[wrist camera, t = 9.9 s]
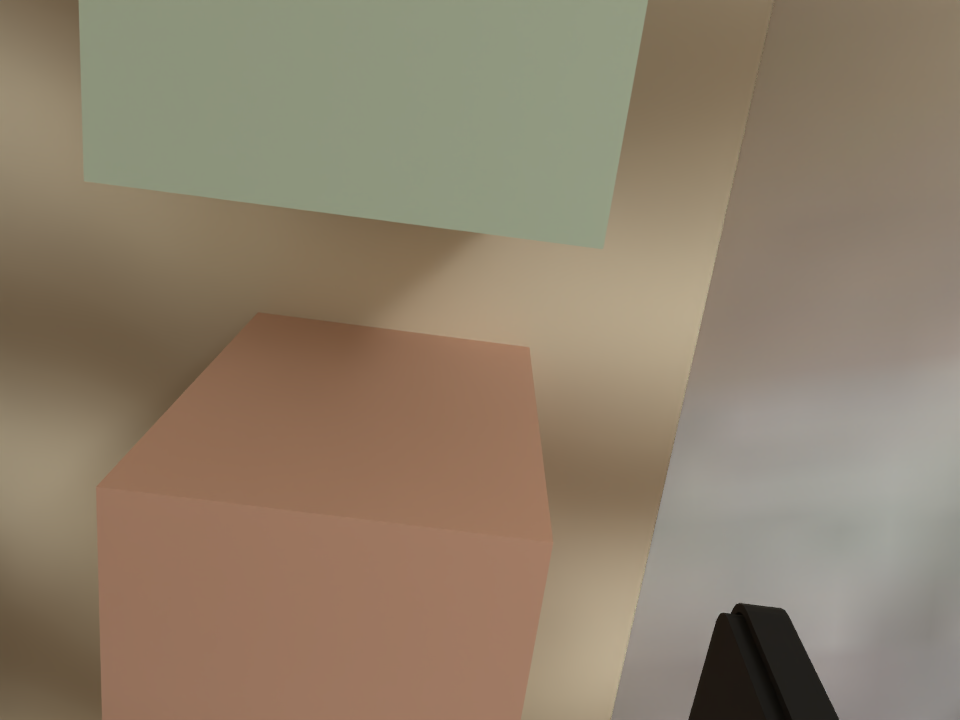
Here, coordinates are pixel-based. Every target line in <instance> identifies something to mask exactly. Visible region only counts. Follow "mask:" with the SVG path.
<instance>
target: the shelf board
mask: <svg viewBox="0 0 960 720" xmlns="http://www.w3.org/2000/svg"><path fill="white" fill-rule="evenodd" d="M773 5H774V0H648V4H647V9H646V15H645V21H644V26H643V32H642V37H641V43H640V48H639V54H638V59H637V65H636V70H635V76H634V81H633V87H632V92H631V98H630V103H629V109H628V114H627V120H626V126H625V131H624V137H623V142H622V148H621V153H620V159H619V164H618V170H617V175H616V181H615V186H614V192H613V197H612V203H611V208H610V214H609V219H608V225H607V230H606V236H605V242H604V247H603V249H597V248H589V247H582V246H574V245H567V244H559V243H551V242H544V241H536V240H528V239H521V238H513V237H506V236H498V235H490V234H483V233H475V232H467V231H460V230H452V229H445V228H437V227H429V226H422V225H414V224H406V223H399V222H391V221H384V220H376V219H368V218H361V217H353V216H345V215H338V214H330V213H323V212H315V211H307V210H300V209H292V208H284V207H277V206H269V205H262V204H254V203H246V202H239V201H231V200H223V199H216V198H208V197H201V196H193V195H185V194H178V193H170V192H163V191H155V190H147V189H140V188H132V187H124V186H117V185H109V184H102V183H94V182H86V181H84V170H83V135H82V100H81V66H80V31H79V0H0V720H102V699H101V661H100V623H99V584H98V546H97V508H96V486H97V485H98V484H99V483H100V482H101V481H102V480H103V479H104V478H105V476H106V475H107V474H108V473H109V472H110V471H111V470H112V469H113V468H114V467H115V466H116V465H117V464H118V462H119V461H120V460H121V459H122V458H123V457H124V456H125V455H126V454H127V453H128V452H129V451H130V450H131V448H132V447H133V446H134V445H135V444H136V443H137V442H138V441H139V440H140V439H141V438H142V437H143V436H144V434H145V433H146V432H147V431H148V430H149V429H150V428H151V427H152V426H153V425H154V424H155V423H156V422H157V420H158V419H159V418H160V417H161V416H162V415H163V414H164V413H165V412H166V411H167V410H168V409H169V408H170V406H171V405H172V404H173V403H174V402H175V401H176V400H177V399H178V398H179V397H180V396H181V395H182V394H183V392H184V391H185V390H186V389H187V388H188V387H189V386H190V385H191V384H192V383H193V382H194V381H195V380H196V378H197V377H198V376H199V375H200V374H201V373H202V372H203V371H204V370H205V369H206V368H207V367H208V366H209V364H210V363H211V362H212V361H213V360H214V359H215V358H216V357H217V356H218V355H219V354H220V353H221V352H222V350H223V349H224V348H225V347H226V346H227V345H228V344H229V343H230V342H231V341H232V340H233V339H234V338H235V336H236V335H237V334H238V333H239V332H240V331H241V330H242V329H243V328H244V327H245V326H246V325H247V324H248V322H249V321H250V320H251V319H252V318H253V317H254V316H255V315H256V314H257V313H258V312H260V313H267V314H275V315H283V316H291V317H299V318H306V319H314V320H322V321H330V322H337V323H345V324H353V325H361V326H369V327H376V328H384V329H392V330H400V331H407V332H415V333H423V334H431V335H438V336H446V337H454V338H462V339H470V340H477V341H485V342H493V343H501V344H508V345H516V346H524V347H529V348H530V357H531V365H532V373H533V381H534V389H535V397H536V406H537V414H538V422H539V430H540V438H541V446H542V454H543V463H544V471H545V479H546V487H547V495H548V503H549V511H550V520H551V528H552V536H553V547H552V552H551V558H550V563H549V569H548V574H547V580H546V585H545V590H544V596H543V601H542V607H541V612H540V618H539V623H538V629H537V634H536V639H535V645H534V650H533V656H532V661H531V667H530V672H529V677H528V683H527V688H526V694H525V699H524V705H523V710H522V716H521V720H611V717H612V712H613V708H614V703H615V699H616V695H617V690H618V686H619V681H620V677H621V673H622V668H623V664H624V659H625V655H626V651H627V646H628V642H629V637H630V633H631V629H632V624H633V620H634V615H635V611H636V607H637V602H638V598H639V594H640V589H641V585H642V580H643V576H644V572H645V567H646V563H647V558H648V554H649V550H650V545H651V541H652V536H653V532H654V528H655V523H656V519H657V514H658V510H659V506H660V501H661V497H662V492H663V488H664V484H665V479H666V475H667V470H668V466H669V462H670V457H671V453H672V448H673V444H674V440H675V435H676V431H677V426H678V422H679V418H680V413H681V409H682V405H683V400H684V396H685V391H686V387H687V383H688V378H689V374H690V369H691V365H692V361H693V356H694V352H695V347H696V343H697V339H698V334H699V330H700V325H701V321H702V317H703V312H704V308H705V303H706V299H707V295H708V290H709V286H710V281H711V277H712V273H713V268H714V264H715V259H716V255H717V251H718V246H719V242H720V238H721V233H722V229H723V224H724V220H725V216H726V211H727V207H728V202H729V198H730V194H731V189H732V185H733V180H734V176H735V172H736V167H737V163H738V158H739V154H740V150H741V145H742V141H743V136H744V132H745V128H746V123H747V119H748V114H749V110H750V106H751V101H752V97H753V92H754V88H755V84H756V79H757V75H758V70H759V66H760V62H761V57H762V53H763V49H764V44H765V40H766V35H767V31H768V27H769V22H770V18H771V13H772V9H773Z"/></svg>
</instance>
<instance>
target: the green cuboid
mask: <svg viewBox="0 0 960 720" xmlns="http://www.w3.org/2000/svg"><path fill="white" fill-rule="evenodd" d="M647 4H648V0H79V31H80V66H81V100H82V135H83V170H84V181H86V182H94V183H102V184H109V185H117V186H124V187H132V188H140V189H147V190H155V191H163V192H170V193H178V194H185V195H193V196H201V197H208V198H216V199H223V200H231V201H239V202H246V203H254V204H262V205H269V206H277V207H284V208H292V209H300V210H307V211H315V212H323V213H330V214H338V215H345V216H353V217H361V218H368V219H376V220H384V221H391V222H399V223H406V224H414V225H422V226H429V227H437V228H445V229H452V230H460V231H467V232H475V233H483V234H490V235H498V236H506V237H513V238H521V239H528V240H536V241H544V242H551V243H559V244H567V245H574V246H582V247H589V248H597V249H603V247H604V242H605V236H606V230H607V225H608V219H609V214H610V208H611V203H612V197H613V192H614V186H615V181H616V175H617V170H618V164H619V159H620V153H621V148H622V142H623V137H624V131H625V126H626V120H627V114H628V109H629V103H630V98H631V92H632V87H633V81H634V76H635V70H636V65H637V59H638V54H639V48H640V43H641V37H642V32H643V26H644V21H645V15H646V9H647Z"/></svg>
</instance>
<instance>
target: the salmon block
mask: <svg viewBox="0 0 960 720" xmlns="http://www.w3.org/2000/svg"><path fill="white" fill-rule="evenodd" d="M96 508H97V546H98V584H99V623H100V661H101V699H102V720H521V716H522V710H523V705H524V699H525V694H526V688H527V683H528V677H529V672H530V667H531V661H532V656H533V650H534V645H535V639H536V634H537V629H538V623H539V618H540V612H541V607H542V601H543V596H544V590H545V585H546V580H547V574H548V569H549V563H550V558H551V552H552V547H553V536H552V528H551V520H550V511H549V503H548V495H547V487H546V479H545V471H544V463H543V454H542V446H541V438H540V430H539V422H538V414H537V406H536V397H535V389H534V381H533V373H532V365H531V357H530V348H529V347H524V346H516V345H508V344H501V343H493V342H485V341H477V340H470V339H462V338H454V337H446V336H438V335H431V334H423V333H415V332H407V331H400V330H392V329H384V328H376V327H369V326H361V325H353V324H345V323H337V322H330V321H322V320H314V319H306V318H299V317H291V316H283V315H275V314H267V313H260V312H258V313H257V314H256V315H255V316H254V317H253V318H252V319H251V320H250V321H249V322H248V324H247V325H246V326H245V327H244V328H243V329H242V330H241V331H240V332H239V333H238V334H237V335H236V336H235V338H234V339H233V340H232V341H231V342H230V343H229V344H228V345H227V346H226V347H225V348H224V349H223V350H222V352H221V353H220V354H219V355H218V356H217V357H216V358H215V359H214V360H213V361H212V362H211V363H210V364H209V366H208V367H207V368H206V369H205V370H204V371H203V372H202V373H201V374H200V375H199V376H198V377H197V378H196V380H195V381H194V382H193V383H192V384H191V385H190V386H189V387H188V388H187V389H186V390H185V391H184V392H183V394H182V395H181V396H180V397H179V398H178V399H177V400H176V401H175V402H174V403H173V404H172V405H171V406H170V408H169V409H168V410H167V411H166V412H165V413H164V414H163V415H162V416H161V417H160V418H159V419H158V420H157V422H156V423H155V424H154V425H153V426H152V427H151V428H150V429H149V430H148V431H147V432H146V433H145V434H144V436H143V437H142V438H141V439H140V440H139V441H138V442H137V443H136V444H135V445H134V446H133V447H132V448H131V450H130V451H129V452H128V453H127V454H126V455H125V456H124V457H123V458H122V459H121V460H120V461H119V462H118V464H117V465H116V466H115V467H114V468H113V469H112V470H111V471H110V472H109V473H108V474H107V475H106V476H105V478H104V479H103V480H102V481H101V482H100V483H99V484H98V485H97V486H96Z"/></svg>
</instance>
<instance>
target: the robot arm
mask: <svg viewBox="0 0 960 720" xmlns="http://www.w3.org/2000/svg"><path fill="white" fill-rule="evenodd" d="M689 720H839V718H838V716H837V714H836V712H835V710H834V708H833V706H832V704H831V702H830V700H829V698H828V696H827V694H826V691H825V689H824V687H823V685H822V683H821V681H820V679H819V677H818V675H817V673H816V671H815V669H814V667H813V665H812V663H811V661H810V659H809V657H808V655H807V653H806V650H805V648H804V646H803V644H802V642H801V640H800V638H799V636H798V634H797V632H796V630H795V628H794V626H793V624H792V622H791V620H790V618H789V616H788V614H787V613H786V611H785V610H783V609H781V608H775V607H767V606H759V605H751V604H743V603H739V604H736V605H735V607H734V608H733V610H732V612H731V614H729V613H721V614H720V615H719V616H718V618H717V621H716V624H715V627H714V631H713V634H712V638H711V642H710V645H709V649H708V652H707V656H706V659H705V663H704V666H703V670H702V674H701V677H700V681H699V684H698V688H697V691H696V695H695V698H694V702H693V706H692V709H691V713H690V716H689Z"/></svg>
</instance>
